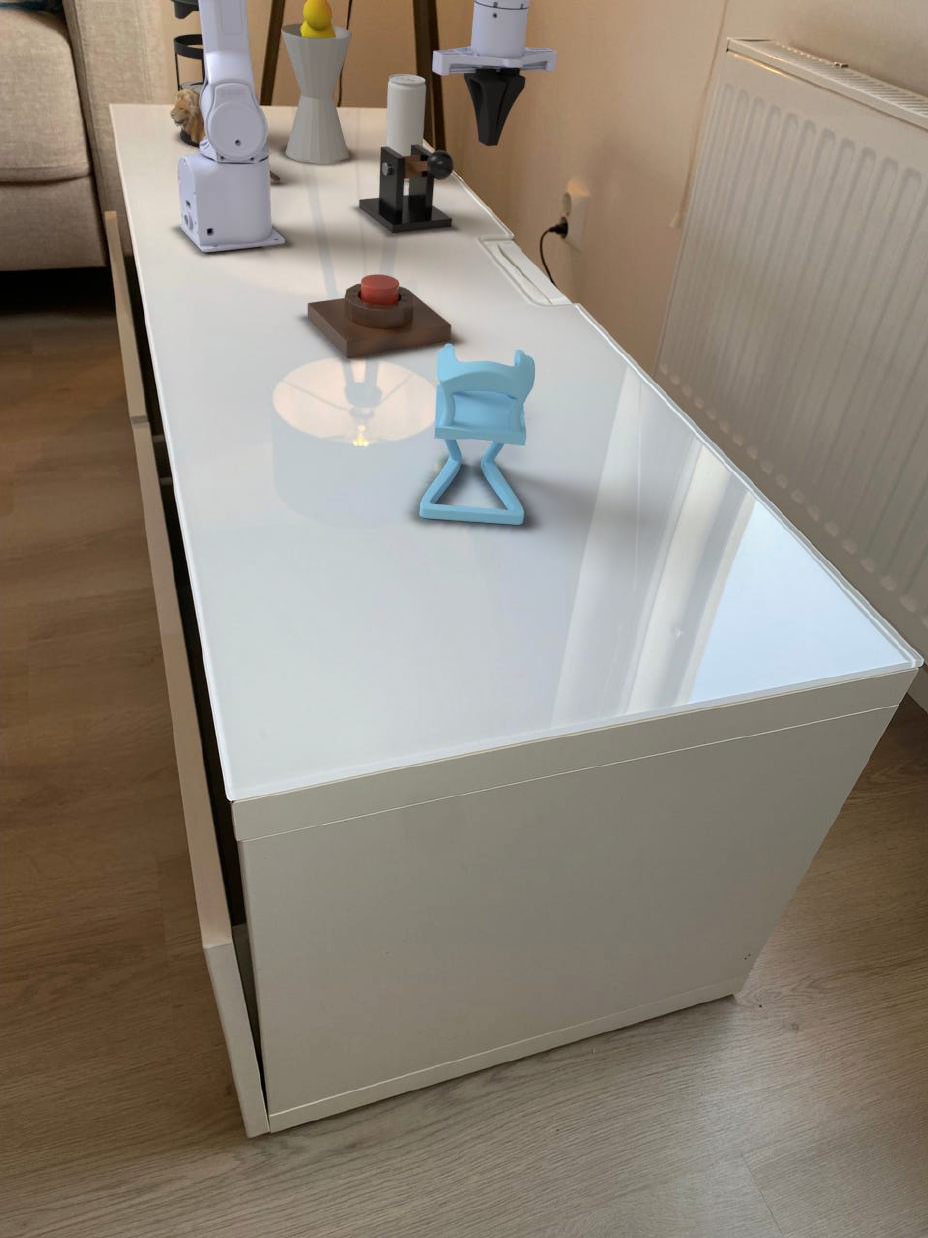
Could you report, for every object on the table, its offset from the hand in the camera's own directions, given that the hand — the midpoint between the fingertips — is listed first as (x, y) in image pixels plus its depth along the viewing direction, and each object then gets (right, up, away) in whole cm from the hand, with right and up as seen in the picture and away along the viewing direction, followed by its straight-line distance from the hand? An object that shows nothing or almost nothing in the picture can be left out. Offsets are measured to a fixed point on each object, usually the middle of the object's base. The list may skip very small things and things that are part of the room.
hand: (487, 143), depth 113 cm
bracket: (-10, -5, +9) cm, 14 cm away
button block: (-11, -26, -16) cm, 32 cm away
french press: (-37, +13, +27) cm, 48 cm away
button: (-11, -23, -17) cm, 31 cm away
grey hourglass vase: (-23, +10, +25) cm, 36 cm away
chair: (-2, -44, -36) cm, 57 cm away
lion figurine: (-33, +3, +16) cm, 37 cm away
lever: (-7, -3, +2) cm, 8 cm away
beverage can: (-11, +5, +21) cm, 24 cm away
